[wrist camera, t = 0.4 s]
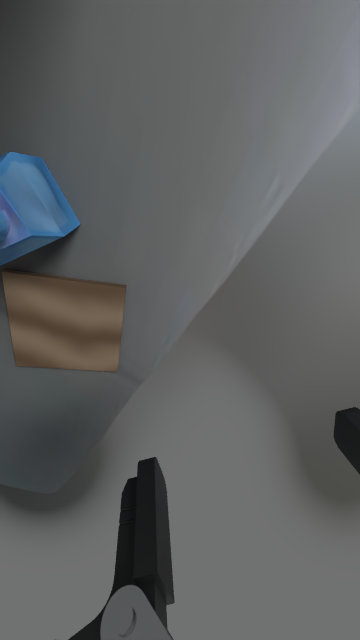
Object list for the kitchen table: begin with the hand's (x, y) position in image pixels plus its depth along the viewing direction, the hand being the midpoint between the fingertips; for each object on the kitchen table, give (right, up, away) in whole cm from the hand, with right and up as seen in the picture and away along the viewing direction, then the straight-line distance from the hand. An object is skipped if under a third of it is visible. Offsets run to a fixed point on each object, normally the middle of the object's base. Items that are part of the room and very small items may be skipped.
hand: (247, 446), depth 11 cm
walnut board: (-17, +5, +20) cm, 27 cm away
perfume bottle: (-17, +17, +14) cm, 28 cm away
